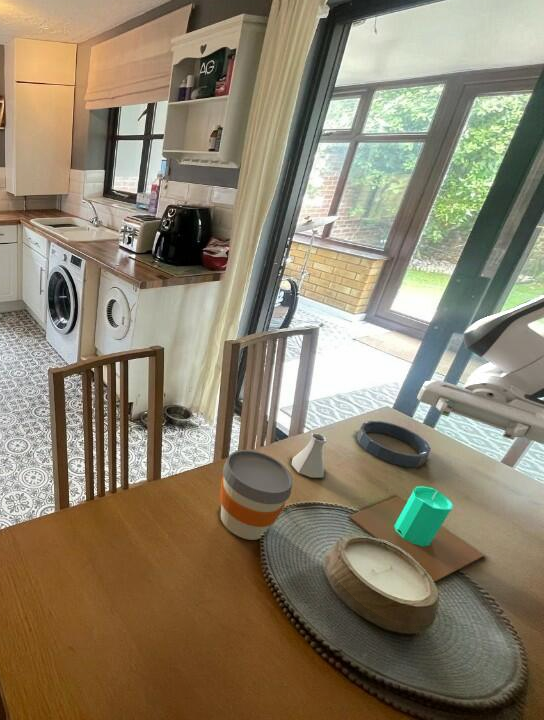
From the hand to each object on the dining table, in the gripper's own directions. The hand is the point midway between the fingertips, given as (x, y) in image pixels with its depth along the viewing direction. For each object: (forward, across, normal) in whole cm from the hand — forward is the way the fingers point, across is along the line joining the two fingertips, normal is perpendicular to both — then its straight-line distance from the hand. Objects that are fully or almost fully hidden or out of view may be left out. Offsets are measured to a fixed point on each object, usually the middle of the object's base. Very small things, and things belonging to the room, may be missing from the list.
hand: (476, 423), depth 83 cm
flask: (+8, -22, +24) cm, 33 cm away
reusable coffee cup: (+37, -24, +24) cm, 50 cm away
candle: (+12, 0, +23) cm, 26 cm away
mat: (+12, 0, +24) cm, 27 cm away
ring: (-18, -11, +24) cm, 32 cm away
